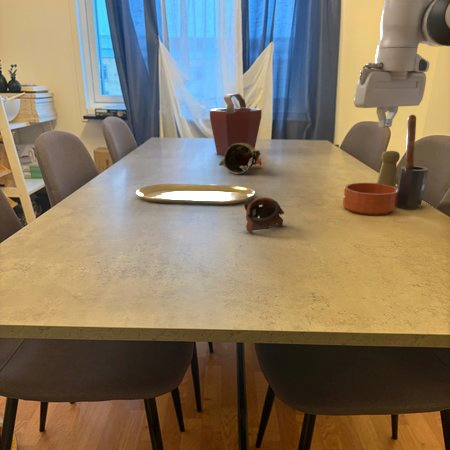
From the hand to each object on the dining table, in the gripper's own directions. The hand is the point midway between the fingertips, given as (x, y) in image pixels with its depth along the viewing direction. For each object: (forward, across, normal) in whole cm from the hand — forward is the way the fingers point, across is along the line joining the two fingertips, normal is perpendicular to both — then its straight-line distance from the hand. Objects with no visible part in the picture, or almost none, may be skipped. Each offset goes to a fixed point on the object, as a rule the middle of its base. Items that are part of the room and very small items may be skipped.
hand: (384, 127), depth 106 cm
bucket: (+21, +16, +98) cm, 102 cm away
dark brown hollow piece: (+21, -35, +1) cm, 41 cm away
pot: (+21, -3, +58) cm, 62 cm away
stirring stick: (+19, +10, -3) cm, 22 cm away
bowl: (+20, -2, 0) cm, 20 cm away
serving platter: (+21, -35, +35) cm, 54 cm away
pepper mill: (+20, +22, +15) cm, 34 cm away
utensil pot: (+20, +10, -3) cm, 23 cm away
